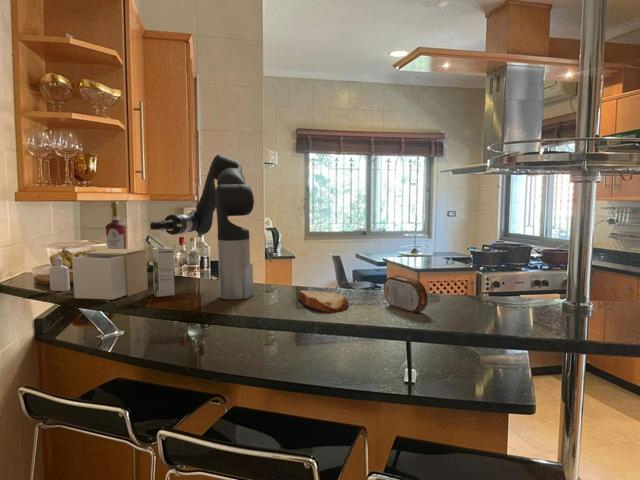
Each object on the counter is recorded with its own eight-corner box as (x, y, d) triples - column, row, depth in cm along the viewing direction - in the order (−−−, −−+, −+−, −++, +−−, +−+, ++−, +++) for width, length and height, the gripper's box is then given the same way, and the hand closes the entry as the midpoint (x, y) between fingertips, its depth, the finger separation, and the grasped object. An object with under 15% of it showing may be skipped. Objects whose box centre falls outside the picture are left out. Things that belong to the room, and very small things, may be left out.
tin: (428, 314, 120) (428, 281, 119) (418, 316, 118) (419, 282, 117) (391, 303, 133) (391, 273, 132) (381, 304, 131) (381, 274, 130)
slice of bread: (303, 296, 145) (303, 283, 144) (360, 300, 138) (360, 287, 138) (276, 310, 128) (275, 296, 128) (339, 315, 121) (339, 300, 121)
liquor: (131, 272, 191) (127, 201, 188) (124, 275, 183) (121, 202, 180) (112, 272, 190) (108, 201, 187) (105, 276, 183) (101, 202, 180)
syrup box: (153, 293, 149) (151, 247, 147) (173, 292, 151) (171, 246, 150) (155, 297, 144) (153, 249, 142) (175, 295, 146) (173, 248, 145)
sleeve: (147, 289, 156) (145, 249, 154) (128, 296, 146) (126, 253, 145) (108, 288, 159) (106, 248, 158) (87, 294, 149) (85, 252, 148)
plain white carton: (146, 288, 156) (144, 251, 155) (112, 299, 140) (110, 258, 139) (111, 286, 159) (109, 251, 158) (74, 297, 143) (71, 257, 142)
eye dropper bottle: (61, 289, 159) (59, 252, 157) (72, 290, 156) (69, 253, 155) (48, 291, 155) (46, 254, 154) (59, 293, 152) (56, 255, 151)
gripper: (162, 214, 184) (135, 215, 167) (193, 214, 181) (169, 215, 164) (163, 234, 185) (136, 237, 168) (194, 233, 182) (170, 237, 165)
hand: (152, 226), depth 166 cm, fingers closed
